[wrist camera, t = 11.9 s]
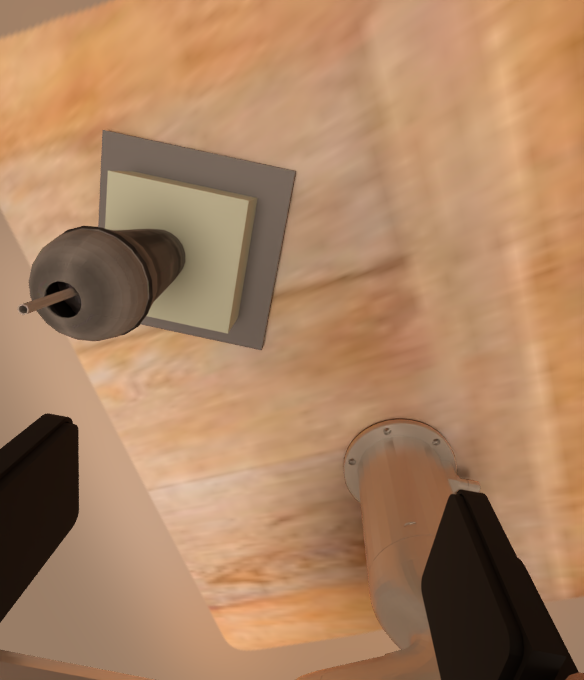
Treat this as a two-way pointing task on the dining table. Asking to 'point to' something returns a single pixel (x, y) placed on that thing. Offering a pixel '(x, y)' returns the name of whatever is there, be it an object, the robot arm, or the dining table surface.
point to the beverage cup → (102, 279)
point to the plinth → (223, 179)
